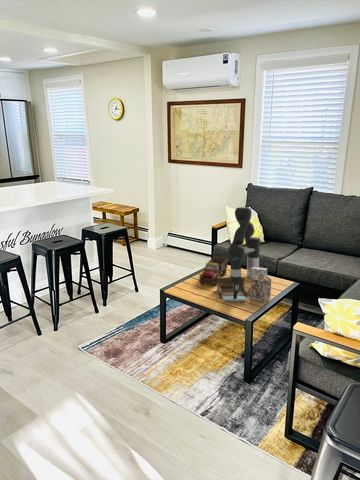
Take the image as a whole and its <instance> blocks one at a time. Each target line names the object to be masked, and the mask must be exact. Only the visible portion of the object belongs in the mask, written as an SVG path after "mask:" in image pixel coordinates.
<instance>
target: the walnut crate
mask: <svg viewBox="0 0 360 480" xmlns="http://www.w3.org/2000/svg"><path fill="white" fill-rule="evenodd" d="M245 279H246V277H245V276H241V282H239V283H238V284H239V287H238V289H239V290H238V294H237V296H245V297H246V298H247V299H249V298H248V297H249V293H248V292H249V291H248V289H247V286H246V284H245ZM232 283H233V282H231V281H230V276H219V277H218V280H217V285H216V286H217V287H216V288H217V294H218V295H217V296H218V299H221V300H223V298H222V296H233V289H232V288H233V286H232Z"/></svg>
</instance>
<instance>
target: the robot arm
mask: <svg viewBox="0 0 360 480" xmlns="http://www.w3.org/2000/svg"><path fill="white" fill-rule="evenodd" d="M234 216H235V219H236V221H237V223H238V224H239V226H238V227H237V229H236V230H235V232H234V236H233V240H232V242H231V243H230V245H229V248H228V250H227V252H228V255H229V256H230V257H236V258H234V259H231V261H230V269H229V273H230V274H229V277H230V281H231V282H233V283H232V286H233V288H232V289H233V298H234V299H237V294H238V290H239V289H238V287H239V284H238V283H239V282H241V277H242V262H243V258H244V254H245V248H244V247H243V246H242V245H244V242H245V245H246V248H247V249H253V250H251V251H249V252H247V260H246V261H247V263H246V265H247V266H246V278H249V279H251V268H252V267H260V265H259V264H260V249H261V238H260V237H256V236H253V235H254V233H255V228H254V227H255V226H254V225H253V223H252V222H251V219H252V209H251V207H248V206H247V207H242V206H241V207H236V208H235V211H234Z"/></svg>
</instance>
